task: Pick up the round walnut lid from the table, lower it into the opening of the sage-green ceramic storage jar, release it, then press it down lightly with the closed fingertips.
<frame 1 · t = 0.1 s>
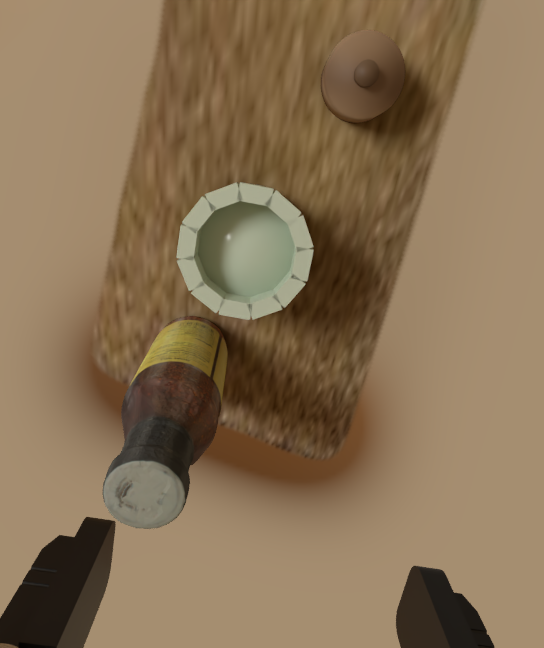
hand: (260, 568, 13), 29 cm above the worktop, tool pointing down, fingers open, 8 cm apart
lid: (357, 83, 36), on the worktop
sauce bottle: (195, 348, 42), on the worktop
jar: (248, 241, 39), on the worktop
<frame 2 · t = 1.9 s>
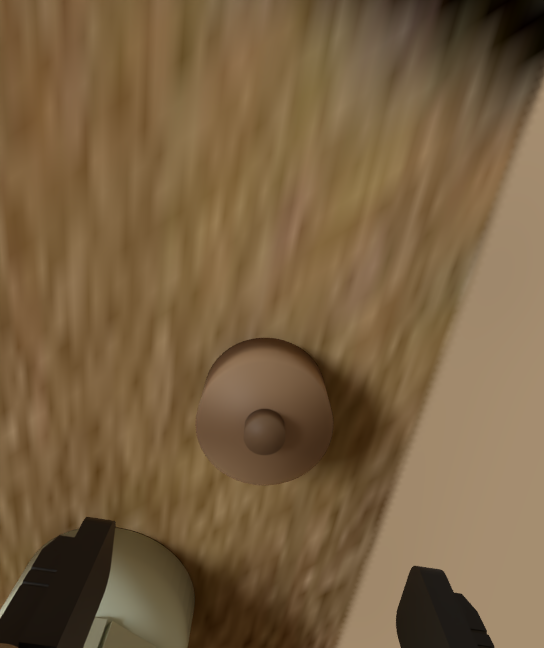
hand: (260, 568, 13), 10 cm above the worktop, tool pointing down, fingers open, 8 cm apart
lid: (264, 393, 22), on the worktop
jar: (109, 596, 26), on the worktop
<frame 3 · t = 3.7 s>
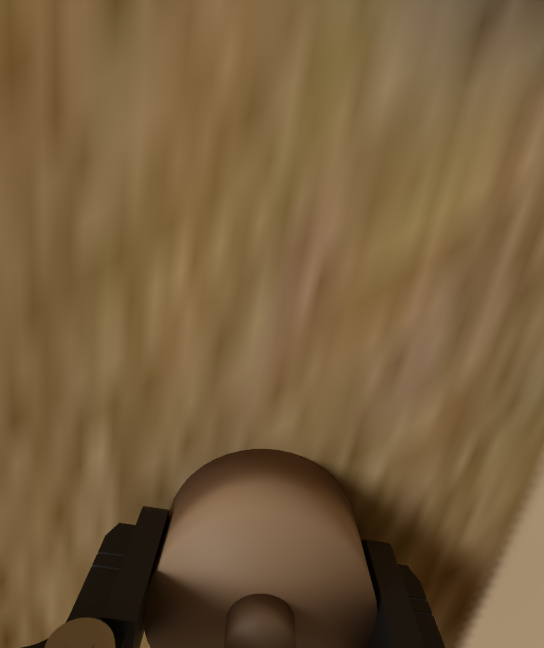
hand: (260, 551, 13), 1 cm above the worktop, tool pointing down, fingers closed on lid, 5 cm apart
lid: (261, 531, 14), on the worktop, touching gripper
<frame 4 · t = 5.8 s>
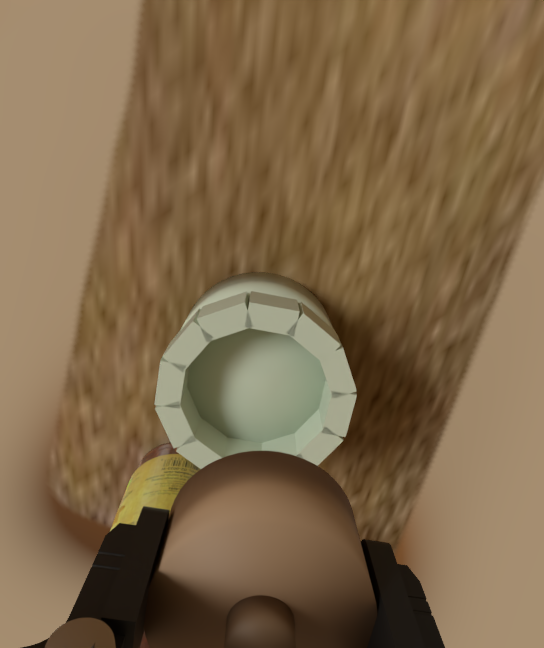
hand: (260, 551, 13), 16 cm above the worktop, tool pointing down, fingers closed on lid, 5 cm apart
lid: (261, 532, 14), point 15 cm above the worktop, touching gripper
sauce bottle: (185, 477, 32), on the worktop
jar: (258, 346, 29), on the worktop
when the fingers open (8 cm above the worktop, at t = 8.1 s): lid drops 2 cm, resting on jar.
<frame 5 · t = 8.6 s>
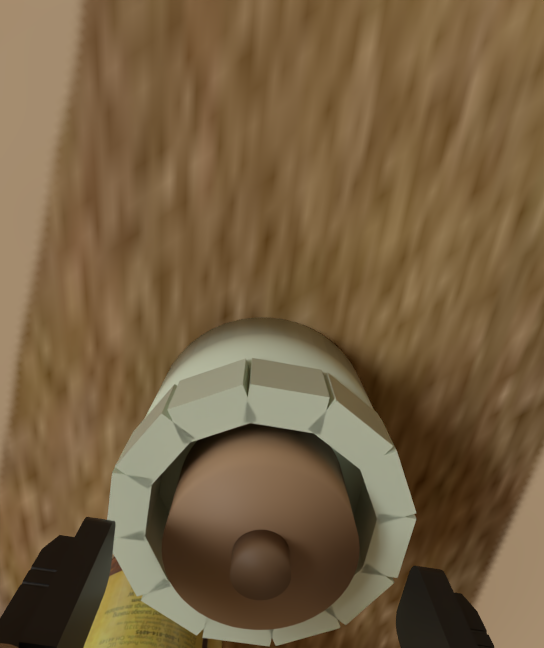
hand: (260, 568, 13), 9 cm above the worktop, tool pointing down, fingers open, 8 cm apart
lid: (261, 487, 16), point 5 cm above the worktop, touching jar
sauce bottle: (166, 584, 24), on the worktop
jar: (262, 416, 21), on the worktop
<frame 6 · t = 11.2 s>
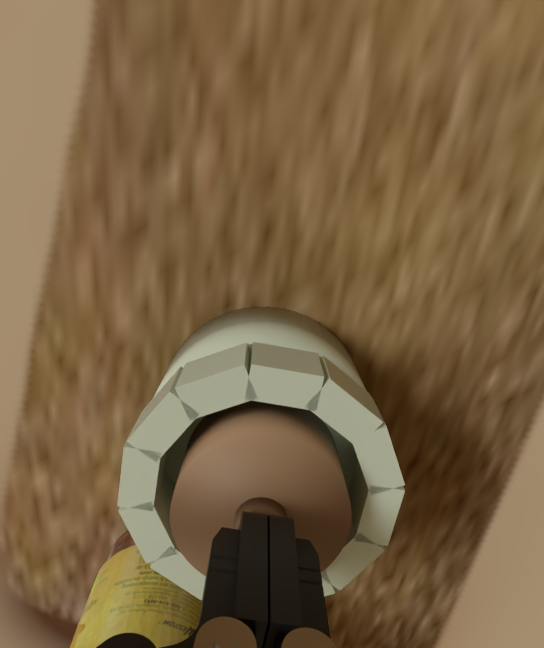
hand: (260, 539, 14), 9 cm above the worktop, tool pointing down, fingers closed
lid: (261, 463, 18), point 5 cm above the worktop, touching gripper, jar
sauce bottle: (171, 562, 25), on the worktop
jar: (262, 401, 22), on the worktop
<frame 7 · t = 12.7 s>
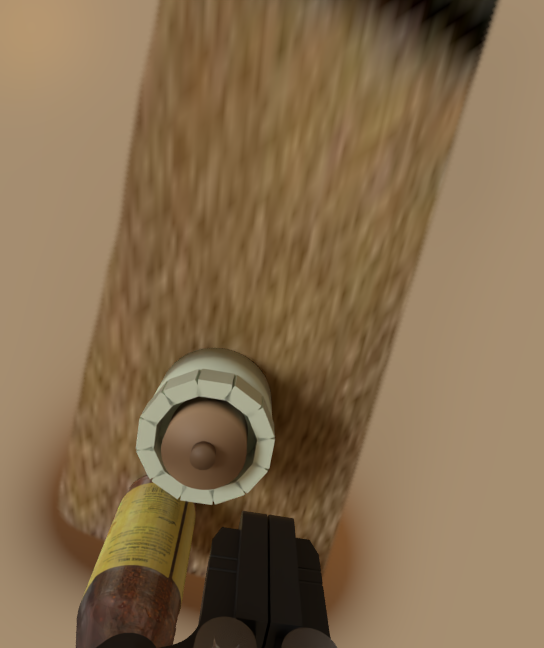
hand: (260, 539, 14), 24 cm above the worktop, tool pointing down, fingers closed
lid: (208, 430, 34), point 5 cm above the worktop, touching jar
sauce bottle: (163, 501, 41), on the worktop
jar: (215, 401, 39), on the worktop
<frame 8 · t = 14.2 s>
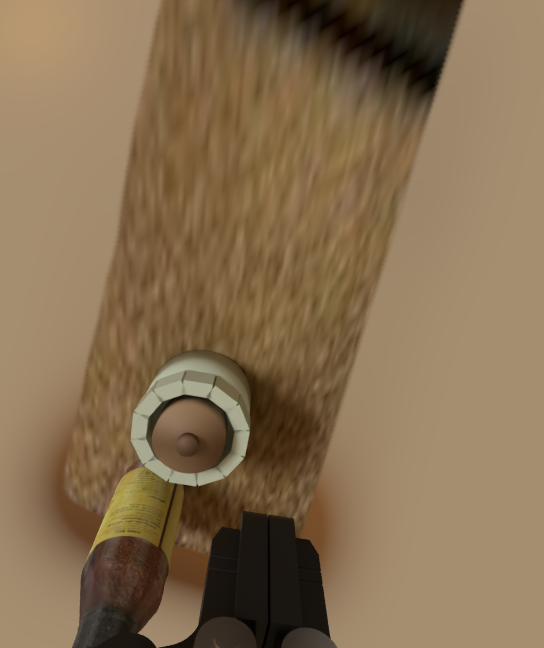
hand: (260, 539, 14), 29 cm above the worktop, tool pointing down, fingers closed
lid: (194, 422, 39), point 5 cm above the worktop, touching jar
sauce bottle: (156, 482, 47), on the worktop
jar: (201, 396, 44), on the worktop
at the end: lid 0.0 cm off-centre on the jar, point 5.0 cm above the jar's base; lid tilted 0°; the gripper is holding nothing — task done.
